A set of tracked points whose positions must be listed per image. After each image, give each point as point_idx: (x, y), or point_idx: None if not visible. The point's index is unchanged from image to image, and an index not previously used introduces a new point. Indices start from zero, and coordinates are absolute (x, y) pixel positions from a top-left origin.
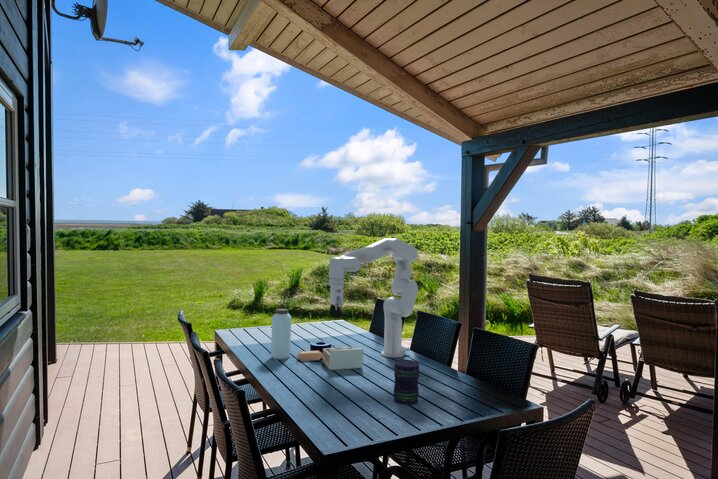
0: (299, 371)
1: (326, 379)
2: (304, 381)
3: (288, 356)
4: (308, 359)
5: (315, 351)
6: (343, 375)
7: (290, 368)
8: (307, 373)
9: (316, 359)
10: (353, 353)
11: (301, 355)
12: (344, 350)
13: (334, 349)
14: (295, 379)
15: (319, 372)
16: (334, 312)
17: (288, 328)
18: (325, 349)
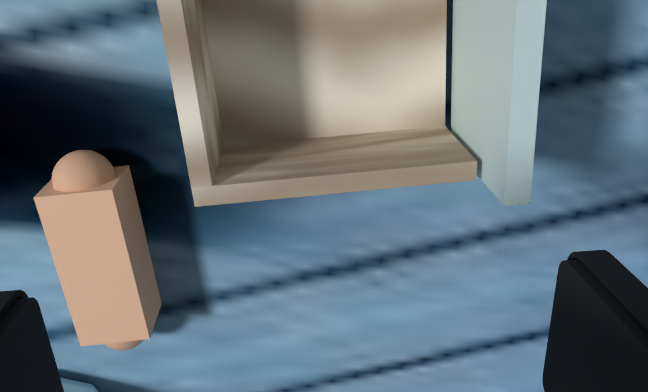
0: (417, 327)
1: (636, 187)
2: None
3: (79, 385)
4: (147, 258)
5: (68, 225)
6: (595, 52)
7: (340, 372)
8: (472, 286)
9: (135, 196)
10: None
11: (152, 327)
12: (539, 46)
13: (196, 82)
14: None
15: (472, 212)
16: (25, 379)
17: None
18: (235, 186)
